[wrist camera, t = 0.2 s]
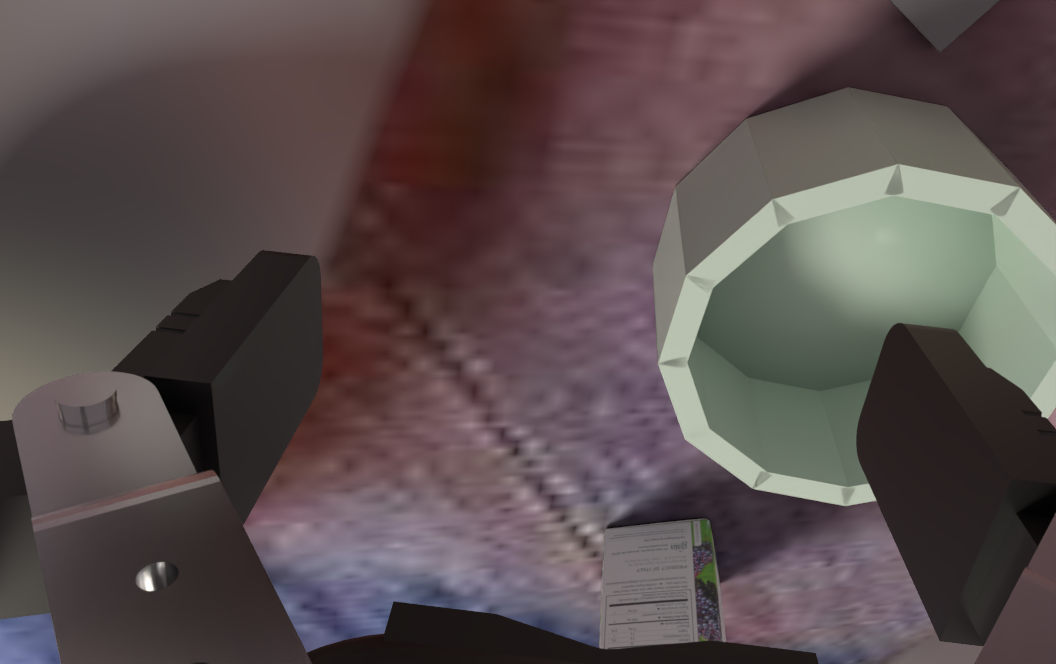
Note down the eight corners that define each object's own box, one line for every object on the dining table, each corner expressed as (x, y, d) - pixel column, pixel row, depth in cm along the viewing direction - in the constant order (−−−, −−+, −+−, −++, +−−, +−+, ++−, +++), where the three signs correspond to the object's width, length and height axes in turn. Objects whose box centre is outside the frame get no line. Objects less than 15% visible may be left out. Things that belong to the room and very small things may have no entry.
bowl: (856, 12, 30) (912, 75, 24) (1085, 248, 34) (1179, 351, 28) (589, 268, 37) (583, 365, 31) (808, 438, 41) (838, 551, 35)
